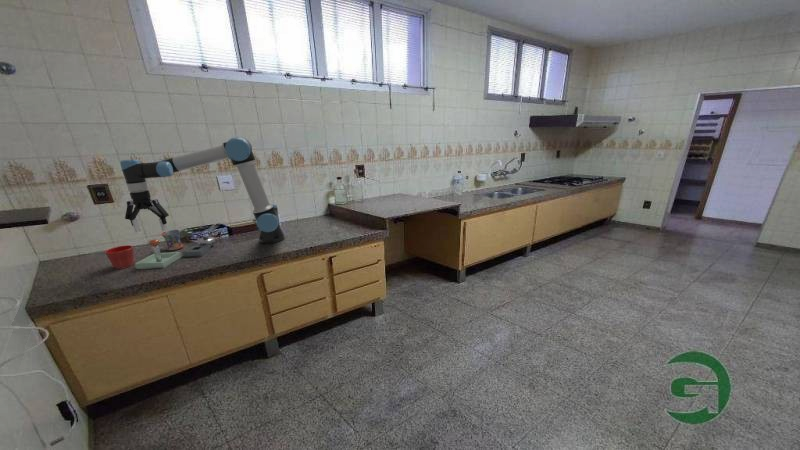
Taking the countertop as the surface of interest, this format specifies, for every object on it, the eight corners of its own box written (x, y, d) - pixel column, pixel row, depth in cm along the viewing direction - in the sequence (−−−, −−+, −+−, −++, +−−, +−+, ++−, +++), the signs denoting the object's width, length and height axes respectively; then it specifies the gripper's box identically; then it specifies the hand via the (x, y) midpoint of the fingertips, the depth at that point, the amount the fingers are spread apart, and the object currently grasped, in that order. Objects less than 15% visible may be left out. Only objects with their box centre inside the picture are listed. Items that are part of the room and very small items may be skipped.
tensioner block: (219, 243, 187) (217, 233, 185) (201, 256, 169) (198, 245, 167) (203, 244, 187) (201, 234, 185) (183, 256, 168) (180, 246, 166)
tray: (181, 257, 168) (180, 252, 168) (164, 267, 155) (162, 262, 154) (156, 258, 168) (154, 253, 167) (136, 268, 155) (134, 263, 154)
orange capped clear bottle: (166, 259, 163) (160, 239, 160) (160, 262, 159) (154, 241, 156) (158, 260, 163) (152, 239, 160) (153, 263, 159) (146, 242, 156)
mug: (182, 250, 179) (178, 233, 176) (163, 252, 175) (159, 235, 172) (186, 243, 189) (182, 227, 186) (169, 246, 186) (164, 230, 182)
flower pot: (123, 261, 164) (118, 245, 161) (142, 261, 164) (137, 245, 161) (104, 270, 154) (98, 252, 151) (125, 270, 154) (119, 252, 151)
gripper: (169, 188, 154) (180, 227, 160) (119, 190, 153) (132, 229, 159) (159, 191, 146) (171, 231, 153) (106, 193, 146) (121, 234, 152)
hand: (151, 230), depth 156 cm, fingers open, 13 cm apart
